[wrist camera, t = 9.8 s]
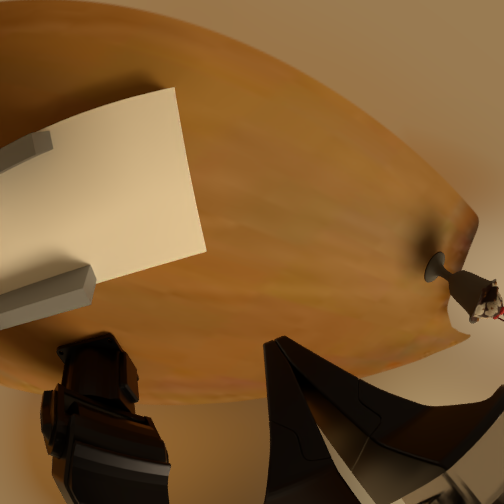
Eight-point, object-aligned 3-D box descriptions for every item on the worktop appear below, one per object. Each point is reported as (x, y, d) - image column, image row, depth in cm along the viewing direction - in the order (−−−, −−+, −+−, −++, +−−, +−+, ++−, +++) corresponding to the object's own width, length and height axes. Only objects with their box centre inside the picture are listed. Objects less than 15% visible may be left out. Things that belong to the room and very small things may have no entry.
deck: (-45, 315, 15) (-54, 330, 13) (-88, 217, 10) (-102, 227, 8) (200, 237, 21) (206, 251, 19) (171, 92, 16) (174, 87, 14)
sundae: (439, 281, 38) (507, 332, 25) (415, 291, 36) (490, 351, 23) (451, 244, 35) (527, 291, 22) (428, 249, 33) (513, 306, 20)
